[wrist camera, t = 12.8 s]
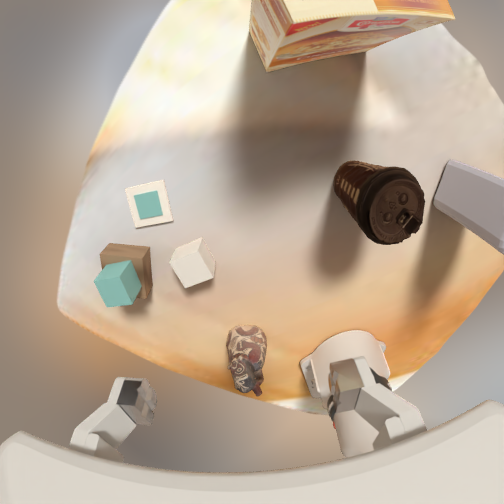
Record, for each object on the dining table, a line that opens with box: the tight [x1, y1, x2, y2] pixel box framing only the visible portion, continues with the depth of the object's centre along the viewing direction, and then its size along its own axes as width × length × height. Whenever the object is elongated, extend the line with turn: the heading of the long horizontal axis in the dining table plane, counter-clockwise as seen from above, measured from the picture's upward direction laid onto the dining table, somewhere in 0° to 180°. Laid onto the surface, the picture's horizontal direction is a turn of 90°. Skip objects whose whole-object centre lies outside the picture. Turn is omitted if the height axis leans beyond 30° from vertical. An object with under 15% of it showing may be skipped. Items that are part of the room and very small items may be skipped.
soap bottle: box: [433, 160, 504, 254], centre depth 25 cm, size 9×9×25 cm
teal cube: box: [94, 260, 142, 307], centre depth 36 cm, size 4×4×4 cm
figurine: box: [227, 325, 267, 396], centre depth 43 cm, size 7×7×12 cm
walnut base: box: [100, 243, 153, 299], centre depth 40 cm, size 7×7×4 cm
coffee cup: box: [334, 161, 425, 245], centre depth 30 cm, size 9×8×13 cm
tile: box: [125, 180, 173, 228], centre depth 36 cm, size 6×6×1 cm
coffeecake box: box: [249, 0, 455, 72], centre depth 18 cm, size 15×7×20 cm, turn 110°
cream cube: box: [169, 237, 216, 288], centre depth 39 cm, size 4×4×4 cm
